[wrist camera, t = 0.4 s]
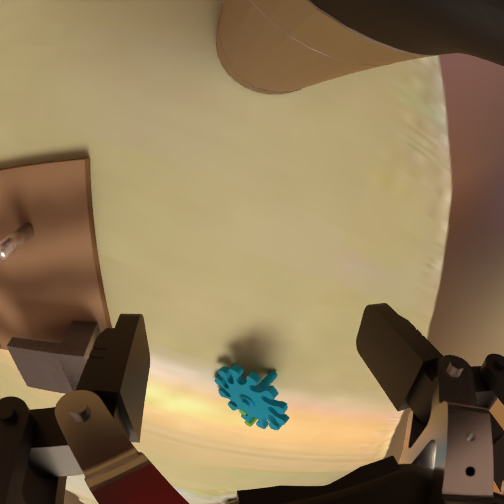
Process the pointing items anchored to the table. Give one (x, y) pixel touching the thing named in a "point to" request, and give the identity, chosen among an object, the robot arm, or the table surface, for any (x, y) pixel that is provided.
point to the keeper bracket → (55, 358)
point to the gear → (252, 397)
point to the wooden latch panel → (48, 252)
